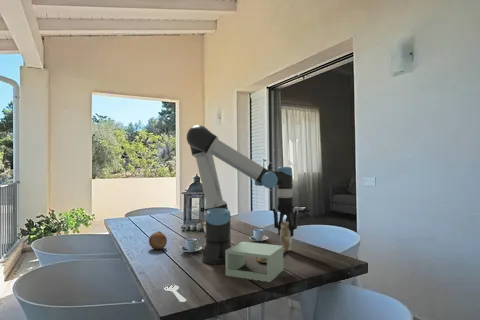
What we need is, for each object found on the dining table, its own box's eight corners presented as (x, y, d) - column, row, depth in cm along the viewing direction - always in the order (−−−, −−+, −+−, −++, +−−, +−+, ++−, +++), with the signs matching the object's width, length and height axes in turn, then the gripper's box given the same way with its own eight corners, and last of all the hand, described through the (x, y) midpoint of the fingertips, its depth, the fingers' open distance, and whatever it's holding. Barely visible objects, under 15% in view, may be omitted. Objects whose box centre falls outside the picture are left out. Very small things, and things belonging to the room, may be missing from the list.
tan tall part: (257, 261, 154) (257, 231, 154) (278, 247, 179) (277, 221, 179) (272, 263, 151) (271, 232, 151) (291, 249, 176) (290, 222, 176)
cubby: (225, 275, 138) (225, 250, 138) (242, 264, 152) (242, 241, 152) (270, 282, 129) (269, 255, 129) (283, 269, 144) (283, 245, 144)
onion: (158, 252, 184) (160, 234, 189) (169, 250, 179) (171, 231, 183) (143, 249, 177) (146, 231, 182) (155, 247, 172) (157, 228, 177)
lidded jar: (217, 237, 207) (217, 221, 207) (201, 236, 209) (200, 221, 209) (222, 233, 218) (222, 218, 218) (206, 232, 220) (206, 218, 220)
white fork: (176, 304, 111) (176, 303, 111) (161, 287, 127) (161, 285, 127) (191, 301, 113) (191, 299, 113) (175, 284, 129) (175, 282, 129)
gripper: (303, 196, 174) (304, 242, 174) (272, 195, 182) (272, 239, 182) (299, 198, 167) (300, 245, 167) (267, 197, 175) (267, 242, 175)
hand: (285, 242), depth 175 cm, fingers closed on tan tall part, 4 cm apart
